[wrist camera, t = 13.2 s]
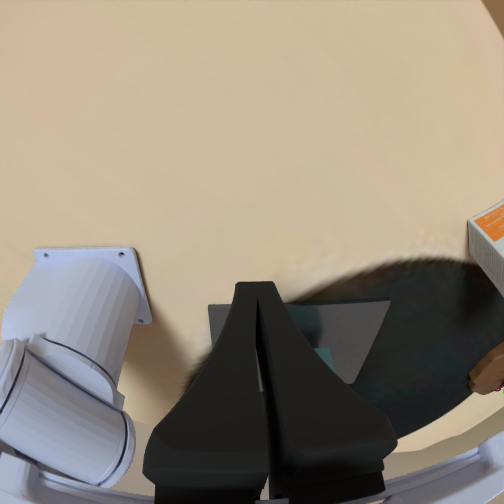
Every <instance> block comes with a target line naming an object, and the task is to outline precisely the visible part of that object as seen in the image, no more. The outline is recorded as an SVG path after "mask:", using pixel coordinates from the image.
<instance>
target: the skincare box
mask: <svg viewBox="0 0 504 504" xmlns="http://www.w3.org/2000/svg"><path fill="white" fill-rule="evenodd" d="M467 222H468V234H469V253H470V255H471V256H472V257H473V258H474V260H475V261H476V262H477V263H478V265H479V266H480V267H481V268H482V270H483V271H484V272H485V273H486V275H487V276H488V277H489V278H490V280H491V281H492V282H493V284H494V285H495V286H496V288H497V289H498V290H499V292H500V293H501V294H502V296H503V297H504V201H502V202H500V203H499V204H497V205H495V206H493V207H492V208H490V209H488V210H486V211H484V212H482V213H480V214H478V215H477V216H475V217H473V218H471V219H469V220H468V221H467Z"/></svg>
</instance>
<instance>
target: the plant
mask: <svg viewBox="0 0 504 504" xmlns="http://www.w3.org/2000/svg"><path fill="white" fill-rule="evenodd" d="M469 376H470V378H471V379H470V381H469V382H468V384H469V387H470V389H471V390H472V391H473V392H477V393H479V394H481V395H486V394H489V393H491V392H493V391H500V390H501V388H502V387H504V341H503V342H502V343H501V344H499V345H498V346H497V347H495V348H494V349H492V350H491V351H489V352H488V353H487V354H486V356H485V357H484V358H482V359H481V360H480V361H479V362H478V363H477V365H476V366H475V367H474V369H473V370H472V371H471V372H470V373H469ZM498 389H499V390H498ZM503 394H504V391H503Z"/></svg>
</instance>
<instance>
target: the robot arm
mask: <svg viewBox="0 0 504 504" xmlns="http://www.w3.org/2000/svg"><path fill="white" fill-rule="evenodd" d="M120 252H122V253H124V254H125V255H122V254H121V253H120ZM47 254H48V255H47ZM33 256H34V259H35V261H36V262H35V263H34V265H33V266H32V268H31V269H30V271H29V272H28V274H27V275H26V277H25V278H24V280H23V281H22V283H21V284H20V286H19V287H18V289H17V291H16V292H15V294H14V295H13V297H12V299H11V300H10V302H9V303H8V305H7V307H6V309H5V311H4V314H3V318H2V324H1V339H2V343H1V344H0V504H367V503H371V502H375V501H378V500H382V499H385V500H384V501H383V503H379V504H485V503H487V502H488V501H490V500H491V499H493V498H494V497H496V496H497V495H498V494H500V493H501V492H503V491H504V430H503V431H501V432H499V433H497V434H495V435H493V436H491V437H489V438H488V439H486V440H485V441H484V442H482V443H481V444H480V445H479V446H478V447H476V448H473V449H471V450H469V451H467V452H465V453H462V454H460V455H458V456H455V457H453V458H450V459H448V460H445V461H443V462H440V463H438V464H435V465H432V466H430V467H427V468H424V469H421V470H418V471H415V472H412V473H409V474H406V475H403V476H399V477H396V478H393V479H389V480H385V481H384V480H383V475H382V471H383V470H384V463H383V459H384V458H385V457H386V456H388V455H389V454H390V453H391V452H392V451H393V450H394V449H395V448H396V447H397V444H398V442H397V438H396V435H395V432H394V429H393V427H392V425H391V423H390V420H389V418H388V416H386V415H385V414H383V413H382V412H381V411H379V410H378V409H376V408H375V407H374V406H372V405H371V404H370V403H368V402H367V401H366V400H364V399H363V398H362V397H361V396H360V395H358V394H357V393H356V392H355V391H354V390H352V389H351V388H350V387H349V386H348V385H347V384H346V383H345V382H344V381H343V380H342V379H341V378H340V377H339V376H338V375H337V374H336V373H334V371H333V370H332V369H331V368H330V367H329V366H328V365H327V364H326V363H325V362H324V361H323V359H322V358H321V357H320V356H319V355H318V354H317V352H316V351H315V350H314V349H313V347H312V346H311V345H310V343H309V342H308V341H307V339H306V338H305V337H304V335H303V334H302V332H301V331H300V329H299V328H298V326H297V325H296V323H295V322H294V320H293V318H292V317H291V315H290V314H289V312H288V310H287V308H286V307H285V305H284V303H283V301H282V299H281V297H280V295H279V293H278V291H277V288H276V286H275V284H274V283H273V282H272V281H260V282H238V283H236V284H235V293H234V297H233V301H232V305H231V308H230V311H229V314H228V316H227V319H226V322H225V324H224V327H223V329H222V331H221V333H220V335H219V338H218V340H217V342H216V344H215V346H214V348H213V350H212V352H211V354H210V355H209V357H208V359H207V361H206V362H205V364H204V366H203V367H202V369H201V370H200V372H199V374H198V375H197V377H196V378H195V380H194V381H193V383H192V384H191V385H190V387H189V388H188V389H187V391H186V392H185V393H184V395H183V396H182V397H181V398H180V400H179V401H178V402H177V404H176V405H175V406H174V407H173V408H172V409H171V411H170V412H169V413H168V414H167V415H166V416H165V417H164V418H163V419H162V420H161V421H160V422H159V424H158V425H157V426H156V427H155V428H154V429H153V431H152V434H151V436H150V438H149V441H148V443H147V446H146V450H145V454H144V461H143V472H142V473H143V474H144V476H145V477H146V478H147V479H149V480H150V481H151V482H152V483H154V484H155V496H147V495H140V494H134V493H128V492H123V491H117V490H112V489H109V488H111V487H112V486H113V485H115V484H116V483H117V482H118V481H119V480H120V479H121V478H122V477H123V476H124V475H125V473H126V472H127V471H128V469H129V467H130V465H131V463H132V460H133V457H134V453H135V446H136V436H135V428H134V424H133V421H132V419H131V417H130V416H129V415H128V414H127V413H126V412H125V411H123V410H122V409H123V404H124V399H125V396H124V395H122V394H121V393H120V392H119V391H118V390H117V386H118V381H119V377H120V373H121V369H122V365H123V361H124V357H125V353H126V349H127V345H128V341H129V337H130V334H131V330H132V326H133V324H144V325H148V324H151V323H152V315H151V312H150V308H149V304H148V301H147V297H146V293H145V289H144V285H143V282H142V278H141V274H140V269H139V265H138V261H137V257H136V252H135V250H134V249H133V248H131V247H86V248H39V249H35V250H34V252H33ZM141 319H142V320H141ZM256 352H257V358H256ZM257 359H258V365H259V371H260V377H261V383H262V389H263V395H264V404H265V420H266V435H265V428H264V421H263V413H262V405H261V396H260V387H259V378H258V368H257ZM266 437H267V442H266ZM267 477H268V478H269V500H260V494H261V491H262V489H264V486H265V483H266V480H267ZM256 500H258V501H256Z"/></svg>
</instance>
